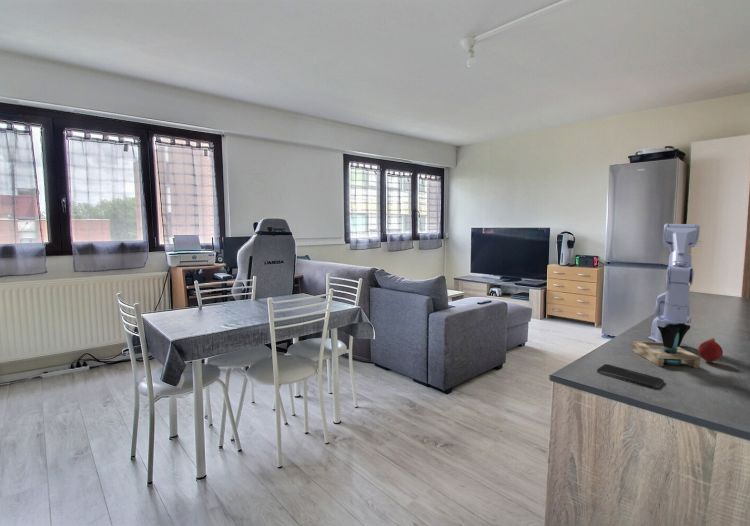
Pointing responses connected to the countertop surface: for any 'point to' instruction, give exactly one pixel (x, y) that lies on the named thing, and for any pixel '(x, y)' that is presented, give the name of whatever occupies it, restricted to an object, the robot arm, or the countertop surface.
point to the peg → (673, 352)
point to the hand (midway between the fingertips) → (671, 346)
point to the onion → (710, 350)
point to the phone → (631, 376)
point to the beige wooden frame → (664, 354)
